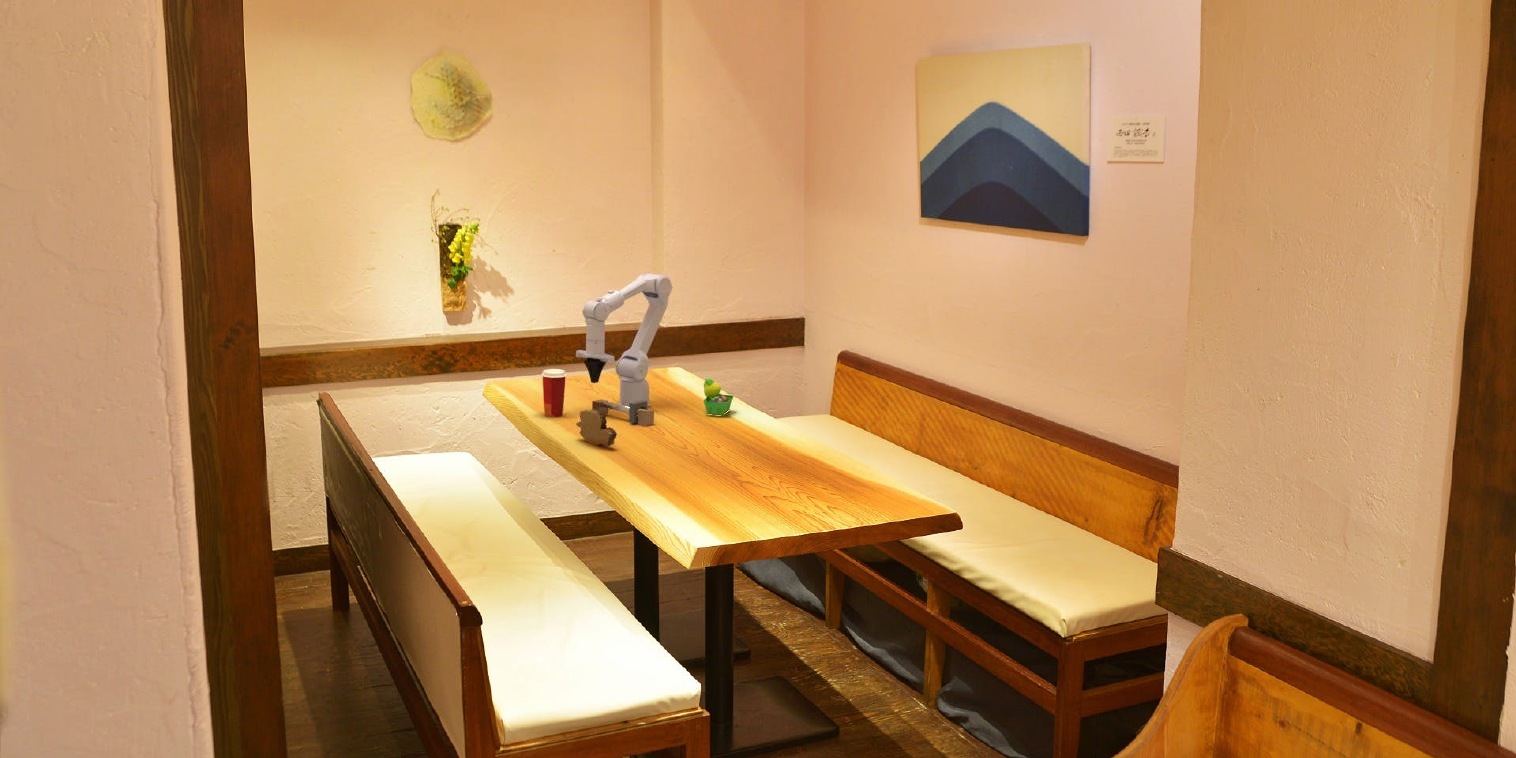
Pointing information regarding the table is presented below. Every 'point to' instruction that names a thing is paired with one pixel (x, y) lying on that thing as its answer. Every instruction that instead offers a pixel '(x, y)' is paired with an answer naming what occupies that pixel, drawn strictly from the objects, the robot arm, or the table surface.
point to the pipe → (643, 415)
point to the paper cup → (553, 392)
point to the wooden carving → (596, 428)
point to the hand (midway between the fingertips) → (594, 382)
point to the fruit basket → (715, 399)
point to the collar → (633, 410)
